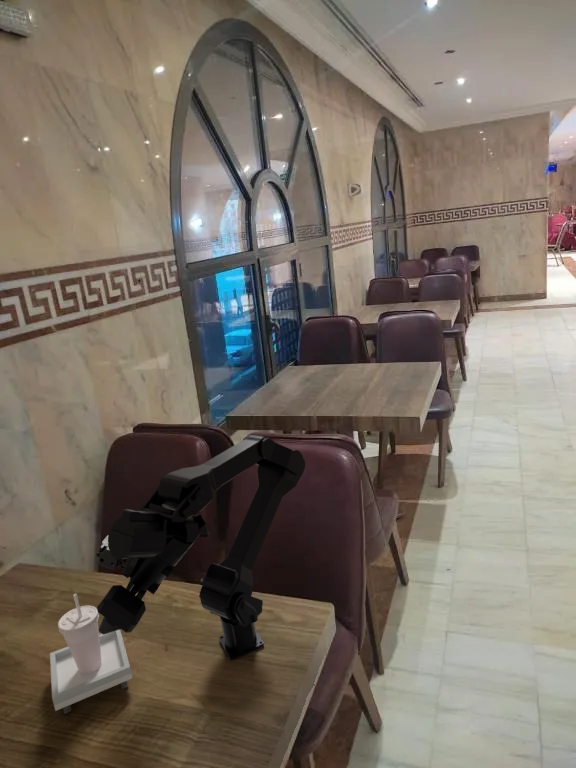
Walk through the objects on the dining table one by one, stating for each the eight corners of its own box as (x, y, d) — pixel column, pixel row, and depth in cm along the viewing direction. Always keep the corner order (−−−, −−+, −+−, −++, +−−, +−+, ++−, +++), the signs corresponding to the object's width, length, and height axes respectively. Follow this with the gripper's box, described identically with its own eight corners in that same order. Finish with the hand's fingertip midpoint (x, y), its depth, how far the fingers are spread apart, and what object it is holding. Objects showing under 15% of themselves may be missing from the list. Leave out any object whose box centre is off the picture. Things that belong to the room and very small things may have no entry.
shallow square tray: (135, 688, 90) (130, 666, 89) (58, 721, 85) (52, 699, 84) (124, 646, 100) (119, 626, 99) (55, 673, 96) (49, 653, 95)
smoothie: (97, 681, 88) (77, 607, 85) (62, 680, 90) (42, 606, 86) (117, 653, 94) (99, 582, 91) (84, 652, 96) (66, 582, 92)
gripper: (146, 492, 93) (100, 553, 97) (95, 550, 75) (42, 622, 80) (197, 531, 94) (150, 589, 98) (159, 597, 76) (103, 666, 80)
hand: (114, 613), depth 89 cm, fingers open, 9 cm apart
